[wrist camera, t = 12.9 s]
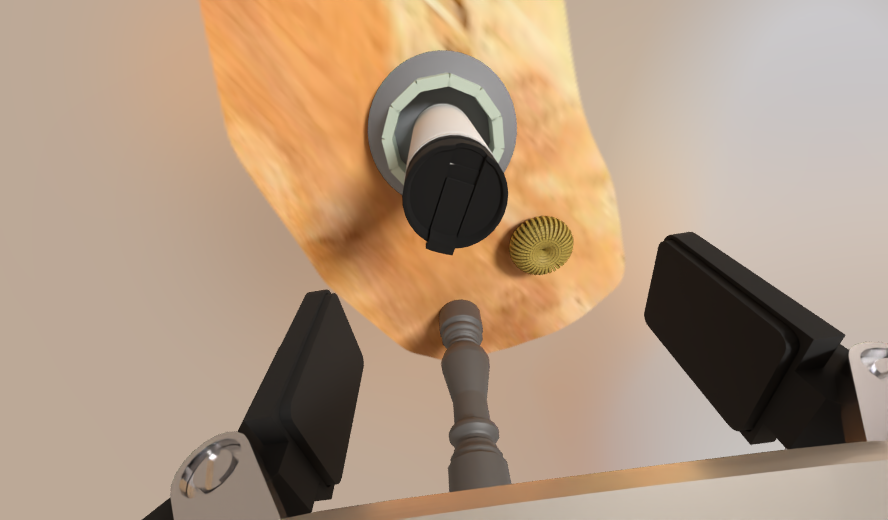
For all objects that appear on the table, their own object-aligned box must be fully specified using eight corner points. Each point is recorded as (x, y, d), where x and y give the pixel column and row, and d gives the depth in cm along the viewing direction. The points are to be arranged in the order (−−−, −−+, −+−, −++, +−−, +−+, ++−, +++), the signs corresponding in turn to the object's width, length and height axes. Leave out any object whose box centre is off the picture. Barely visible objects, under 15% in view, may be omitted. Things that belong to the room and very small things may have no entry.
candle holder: (456, 337, 53) (476, 527, 31) (430, 314, 50) (432, 505, 29) (488, 316, 51) (531, 504, 29) (462, 292, 48) (489, 479, 27)
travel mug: (405, 157, 37) (388, 242, 20) (422, 93, 34) (417, 129, 17) (459, 173, 38) (485, 266, 21) (479, 113, 35) (530, 166, 18)
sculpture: (555, 211, 38) (590, 254, 41) (544, 198, 41) (578, 239, 45) (499, 253, 41) (537, 291, 44) (494, 238, 44) (529, 274, 47)
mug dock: (349, 68, 33) (340, 69, 30) (509, 35, 32) (518, 32, 29) (390, 214, 42) (386, 228, 38) (518, 191, 41) (527, 203, 37)
